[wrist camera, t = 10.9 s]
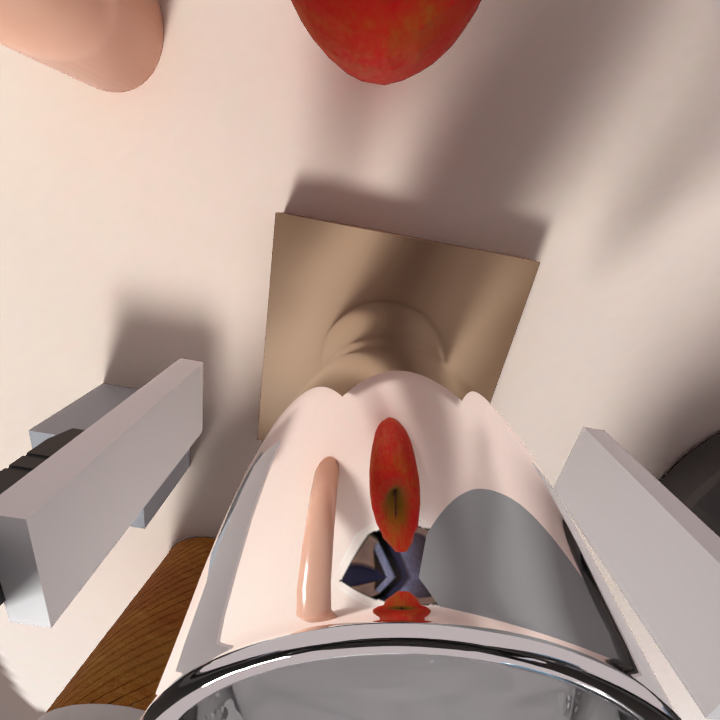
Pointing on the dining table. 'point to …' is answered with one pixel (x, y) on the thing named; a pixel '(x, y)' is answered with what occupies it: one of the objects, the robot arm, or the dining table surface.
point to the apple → (385, 33)
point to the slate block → (90, 412)
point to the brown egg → (87, 38)
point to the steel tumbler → (400, 562)
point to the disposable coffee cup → (135, 643)
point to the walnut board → (384, 300)
